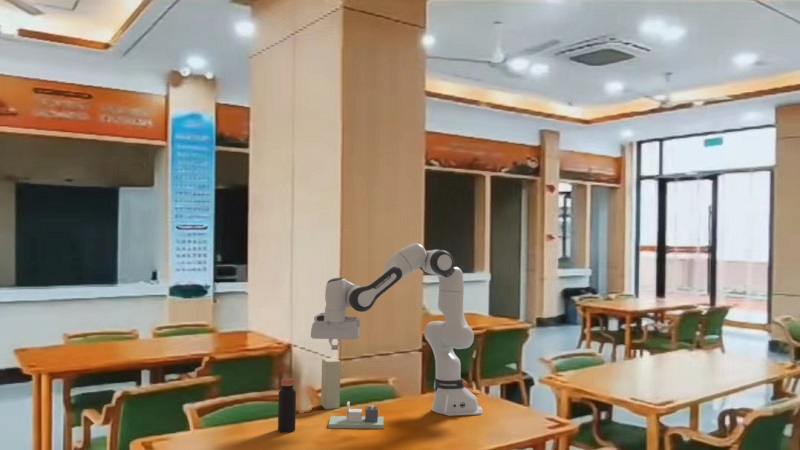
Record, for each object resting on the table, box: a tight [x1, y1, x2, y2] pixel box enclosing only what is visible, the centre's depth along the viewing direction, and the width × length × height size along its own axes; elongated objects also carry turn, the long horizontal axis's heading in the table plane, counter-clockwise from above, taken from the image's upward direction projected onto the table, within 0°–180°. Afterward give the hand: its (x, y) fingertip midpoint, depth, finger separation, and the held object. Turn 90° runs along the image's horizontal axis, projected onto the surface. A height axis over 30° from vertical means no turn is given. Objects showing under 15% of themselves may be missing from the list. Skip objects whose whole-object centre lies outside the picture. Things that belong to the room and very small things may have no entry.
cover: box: [346, 400, 363, 422], centre depth 271 cm, size 6×5×7 cm
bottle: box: [277, 377, 297, 433], centre depth 261 cm, size 7×7×20 cm
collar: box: [364, 406, 379, 422], centre depth 271 cm, size 5×5×5 cm
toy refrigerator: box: [320, 357, 342, 410], centre depth 298 cm, size 8×7×21 cm
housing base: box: [327, 404, 385, 430], centre depth 271 cm, size 22×12×8 cm, turn 91°
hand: (334, 349), depth 278 cm, fingers closed
